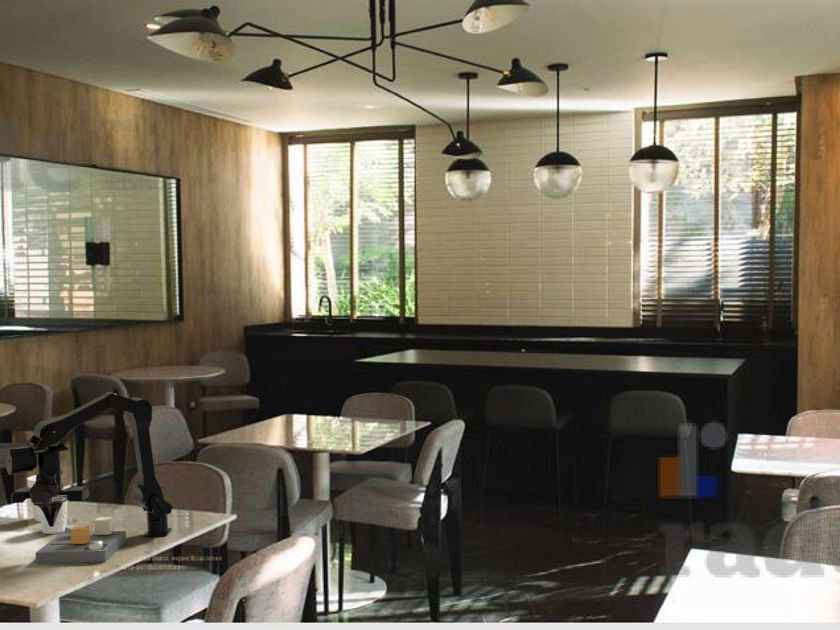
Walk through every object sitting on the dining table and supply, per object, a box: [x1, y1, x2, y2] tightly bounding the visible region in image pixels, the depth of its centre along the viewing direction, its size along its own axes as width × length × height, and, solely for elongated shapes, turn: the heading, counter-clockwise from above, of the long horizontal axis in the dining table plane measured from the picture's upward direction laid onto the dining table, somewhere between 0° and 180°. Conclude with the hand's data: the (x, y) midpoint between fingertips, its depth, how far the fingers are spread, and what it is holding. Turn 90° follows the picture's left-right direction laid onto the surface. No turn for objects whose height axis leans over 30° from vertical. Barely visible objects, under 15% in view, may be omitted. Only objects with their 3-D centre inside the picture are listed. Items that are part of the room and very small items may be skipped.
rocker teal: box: [63, 524, 91, 534], centre depth 253 cm, size 3×6×2 cm, turn 91°
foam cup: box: [26, 474, 41, 522], centre depth 284 cm, size 10×9×13 cm
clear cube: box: [89, 540, 103, 550], centre depth 243 cm, size 4×4×4 cm
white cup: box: [39, 499, 68, 535], centre depth 270 cm, size 8×8×10 cm
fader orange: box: [70, 525, 91, 544], centre depth 246 cm, size 3×4×4 cm
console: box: [35, 530, 127, 565], centre depth 248 cm, size 18×18×4 cm
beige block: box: [94, 516, 114, 535], centre depth 254 cm, size 3×4×4 cm
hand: (51, 526), depth 246 cm, fingers closed
